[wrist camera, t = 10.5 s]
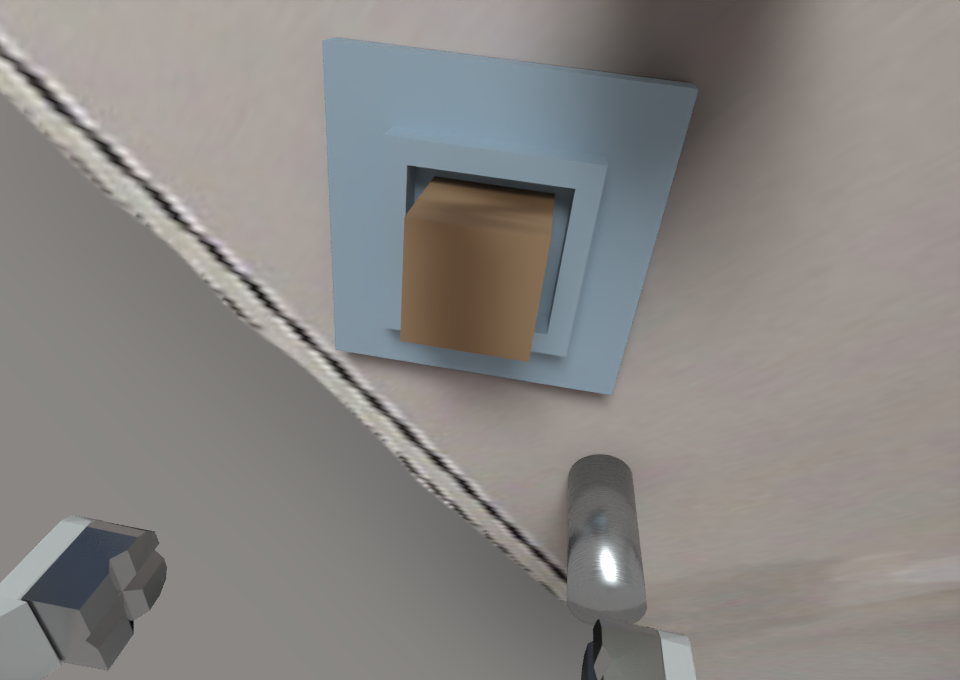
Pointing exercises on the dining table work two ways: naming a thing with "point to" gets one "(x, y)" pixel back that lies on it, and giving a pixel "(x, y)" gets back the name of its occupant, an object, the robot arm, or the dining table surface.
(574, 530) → the peg
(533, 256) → the block
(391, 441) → the dining table surface
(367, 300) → the base
